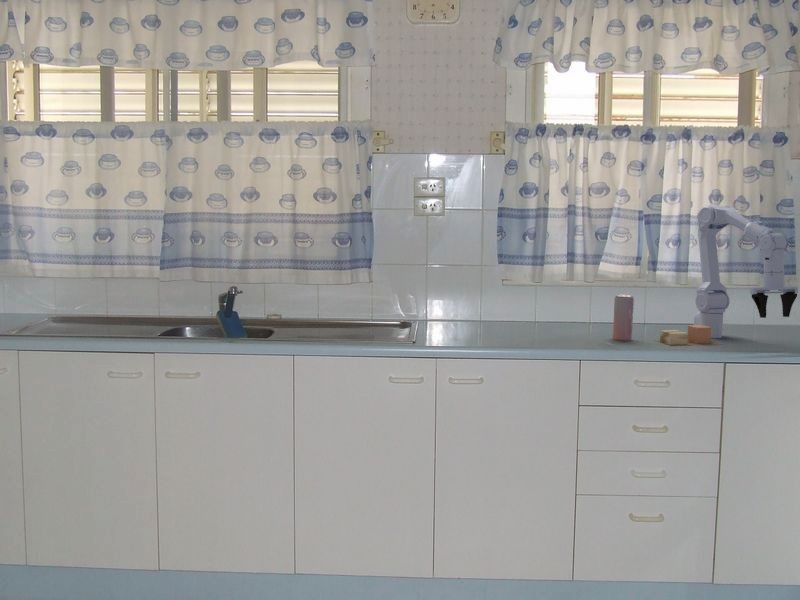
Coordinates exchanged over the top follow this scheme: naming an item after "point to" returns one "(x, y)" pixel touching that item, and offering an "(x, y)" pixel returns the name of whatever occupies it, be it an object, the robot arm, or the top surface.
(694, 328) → the terracotta block
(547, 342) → the top surface
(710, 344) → the base plate
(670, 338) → the birch block
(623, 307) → the beverage can
